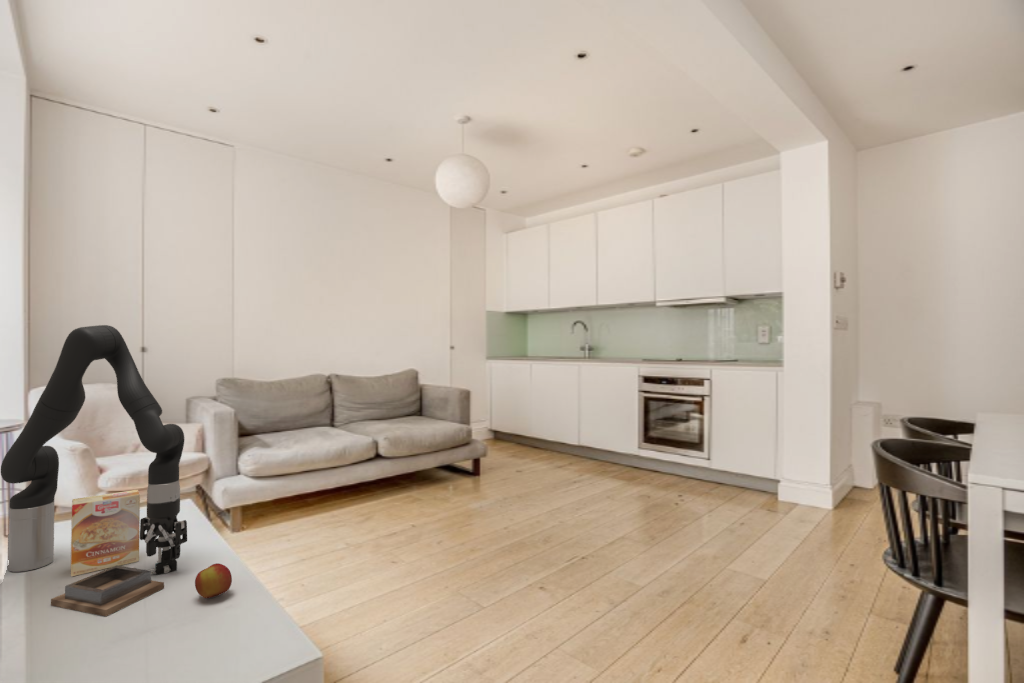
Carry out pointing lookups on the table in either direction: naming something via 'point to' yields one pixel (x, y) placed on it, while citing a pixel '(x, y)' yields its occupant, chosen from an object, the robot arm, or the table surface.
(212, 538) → the table surface
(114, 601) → the mounting board
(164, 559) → the push button
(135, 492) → the coffeecake box
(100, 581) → the socket
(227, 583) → the apple
